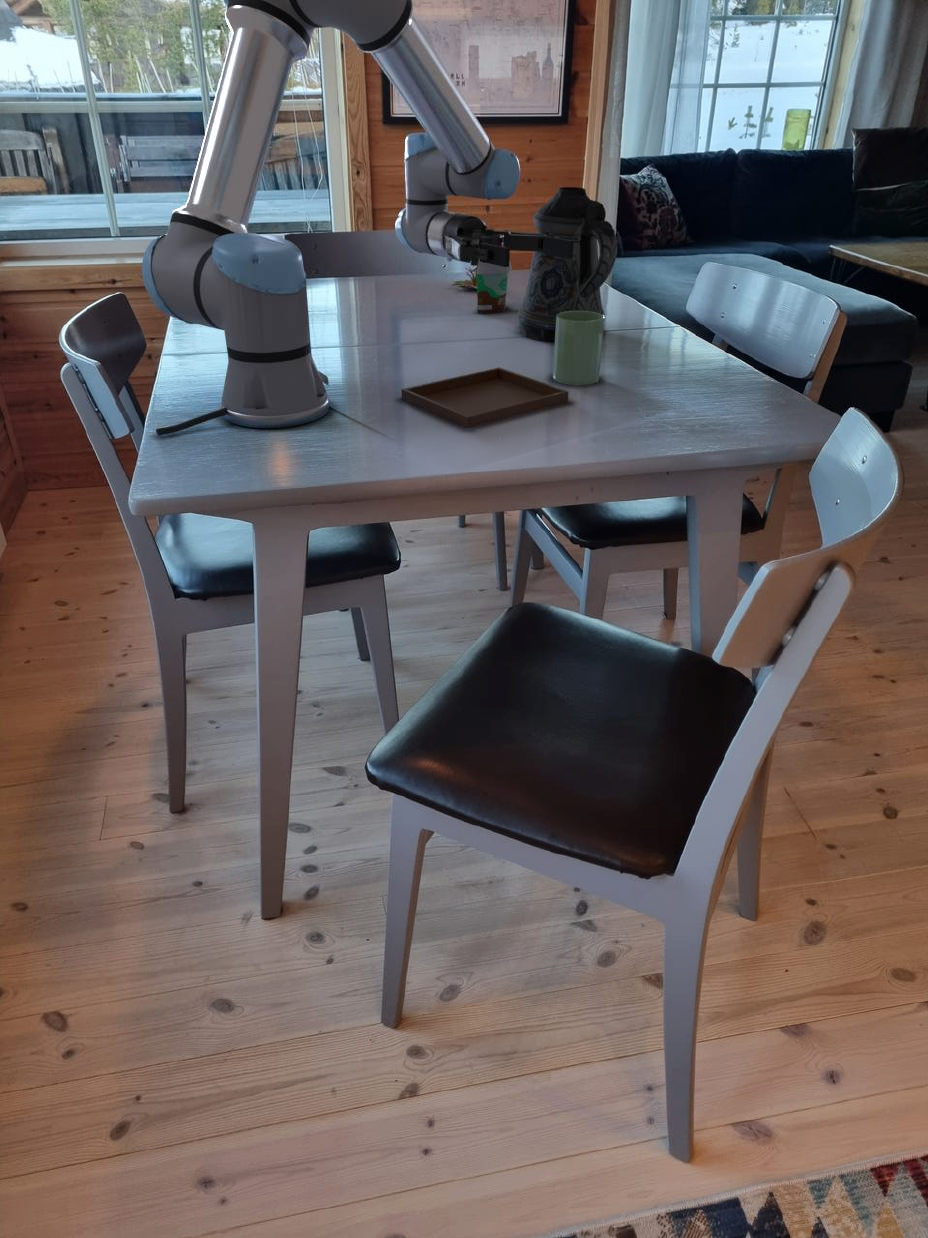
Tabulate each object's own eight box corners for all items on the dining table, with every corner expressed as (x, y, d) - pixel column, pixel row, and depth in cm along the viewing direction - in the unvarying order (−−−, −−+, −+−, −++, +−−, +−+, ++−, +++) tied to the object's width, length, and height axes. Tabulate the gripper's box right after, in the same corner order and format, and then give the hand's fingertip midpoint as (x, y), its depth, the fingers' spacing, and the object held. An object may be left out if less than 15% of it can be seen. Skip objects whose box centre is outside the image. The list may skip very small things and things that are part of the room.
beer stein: (536, 318, 177) (542, 181, 164) (629, 328, 170) (643, 186, 157) (503, 336, 164) (507, 189, 151) (602, 349, 157) (615, 195, 144)
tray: (467, 429, 121) (467, 417, 120) (401, 400, 132) (401, 388, 131) (567, 403, 131) (568, 391, 130) (499, 378, 142) (499, 367, 141)
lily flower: (494, 281, 209) (494, 261, 206) (505, 292, 199) (505, 270, 196) (445, 283, 207) (444, 262, 205) (453, 293, 197) (453, 272, 195)
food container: (505, 316, 179) (507, 264, 173) (476, 314, 180) (476, 263, 174) (514, 303, 189) (516, 253, 184) (486, 302, 190) (487, 252, 185)
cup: (575, 389, 137) (579, 323, 132) (543, 378, 142) (546, 314, 137) (608, 380, 141) (614, 316, 136) (576, 370, 146) (580, 308, 140)
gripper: (512, 253, 161) (594, 270, 147) (401, 267, 148) (478, 287, 134) (514, 208, 157) (598, 221, 143) (399, 218, 144) (479, 234, 130)
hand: (540, 253), depth 138 cm, fingers open, 13 cm apart
